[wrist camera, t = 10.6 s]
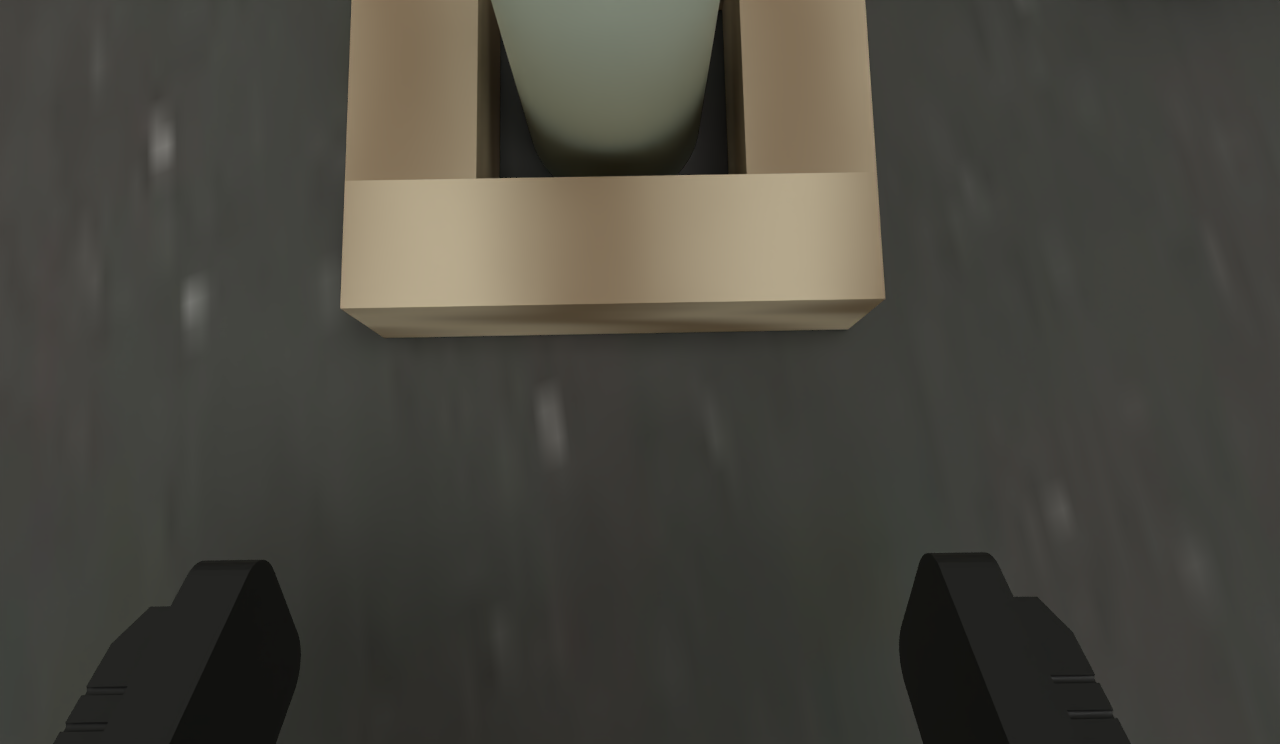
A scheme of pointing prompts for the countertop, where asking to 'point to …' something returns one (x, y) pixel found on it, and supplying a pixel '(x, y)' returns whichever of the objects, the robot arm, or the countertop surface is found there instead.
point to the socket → (609, 190)
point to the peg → (610, 81)
